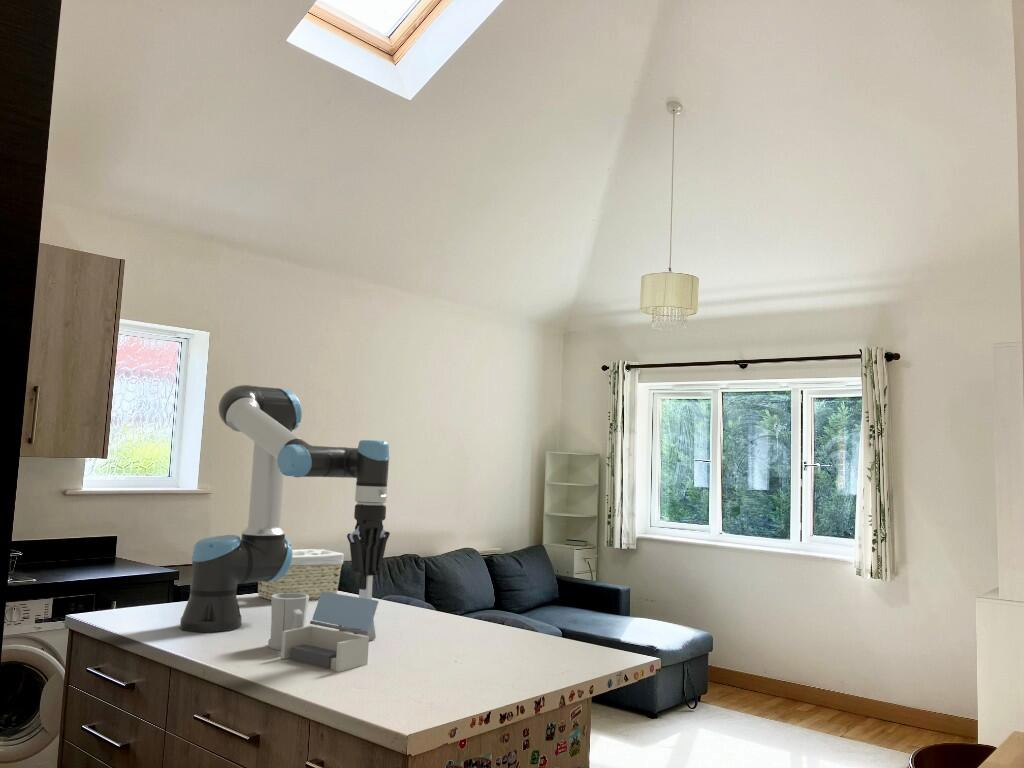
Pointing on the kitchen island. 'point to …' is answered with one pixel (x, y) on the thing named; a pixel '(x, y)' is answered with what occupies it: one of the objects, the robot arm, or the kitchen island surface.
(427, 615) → the kitchen island surface
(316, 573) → the storage basket
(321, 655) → the dark grey block
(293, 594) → the cup
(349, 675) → the kitchen island surface
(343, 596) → the cover
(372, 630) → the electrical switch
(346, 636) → the white u-shaped bracket
